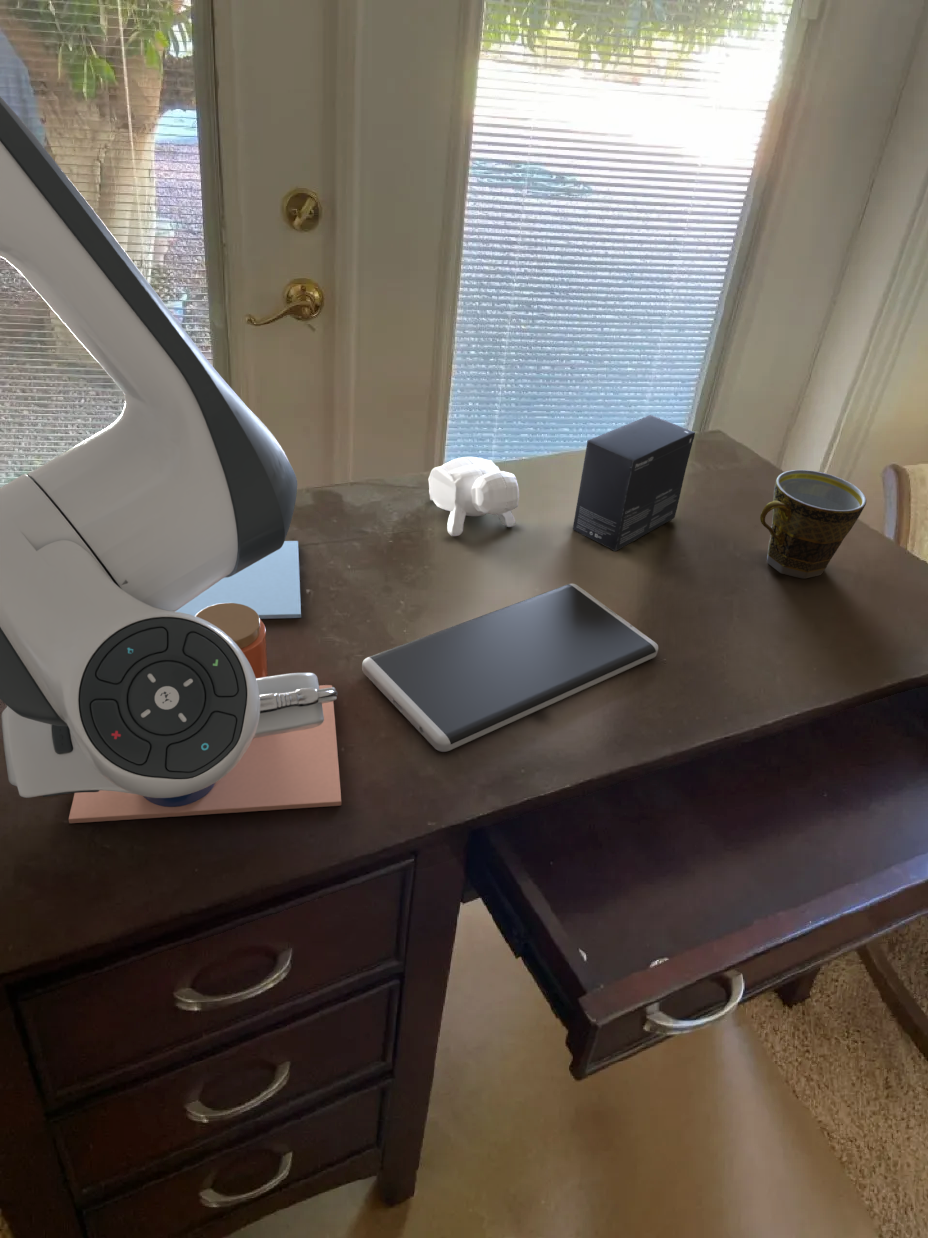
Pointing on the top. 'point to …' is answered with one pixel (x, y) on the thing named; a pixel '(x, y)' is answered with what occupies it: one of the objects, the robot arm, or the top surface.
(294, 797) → the clay mat
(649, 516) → the small box
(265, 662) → the terracotta jar
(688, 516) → the top surface
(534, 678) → the smartphone
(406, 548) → the top surface
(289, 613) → the blue mat
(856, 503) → the ceramic cup
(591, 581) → the top surface
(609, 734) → the top surface
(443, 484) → the white sheep figurine
